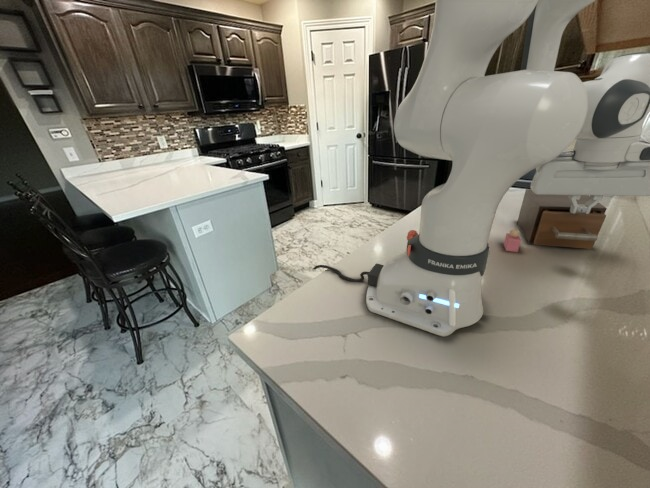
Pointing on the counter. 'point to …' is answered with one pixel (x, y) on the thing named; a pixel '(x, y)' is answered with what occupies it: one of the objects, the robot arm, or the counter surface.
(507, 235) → the doll
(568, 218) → the drawer
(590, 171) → the robot arm
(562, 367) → the counter surface
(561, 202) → the cabinet
